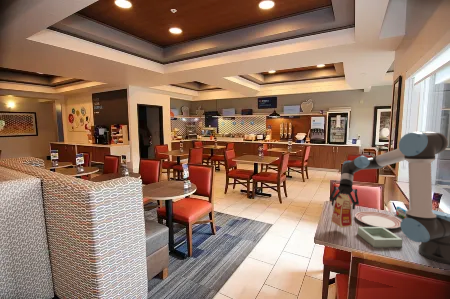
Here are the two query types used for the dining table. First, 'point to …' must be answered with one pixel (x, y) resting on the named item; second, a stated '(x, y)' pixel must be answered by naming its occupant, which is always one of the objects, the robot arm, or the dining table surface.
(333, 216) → the milk carton
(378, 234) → the carton caddy
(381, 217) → the dinner plate
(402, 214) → the yogurt
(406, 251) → the dining table surface
